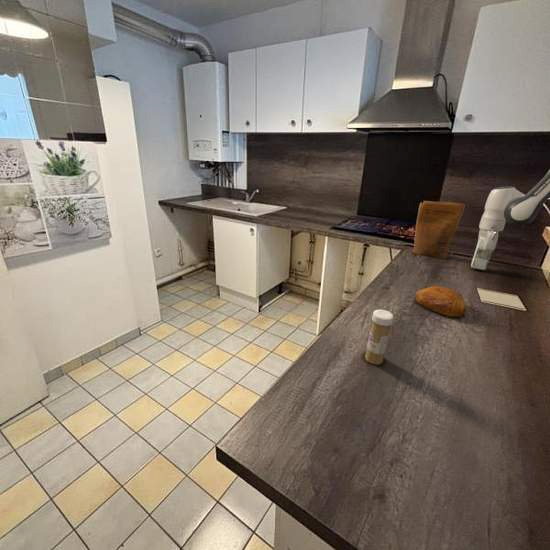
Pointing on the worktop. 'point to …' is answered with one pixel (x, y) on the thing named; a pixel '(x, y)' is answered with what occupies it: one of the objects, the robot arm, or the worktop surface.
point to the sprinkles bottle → (378, 336)
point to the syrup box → (477, 259)
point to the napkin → (500, 299)
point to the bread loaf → (442, 300)
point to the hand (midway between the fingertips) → (482, 255)
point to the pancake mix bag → (436, 227)
